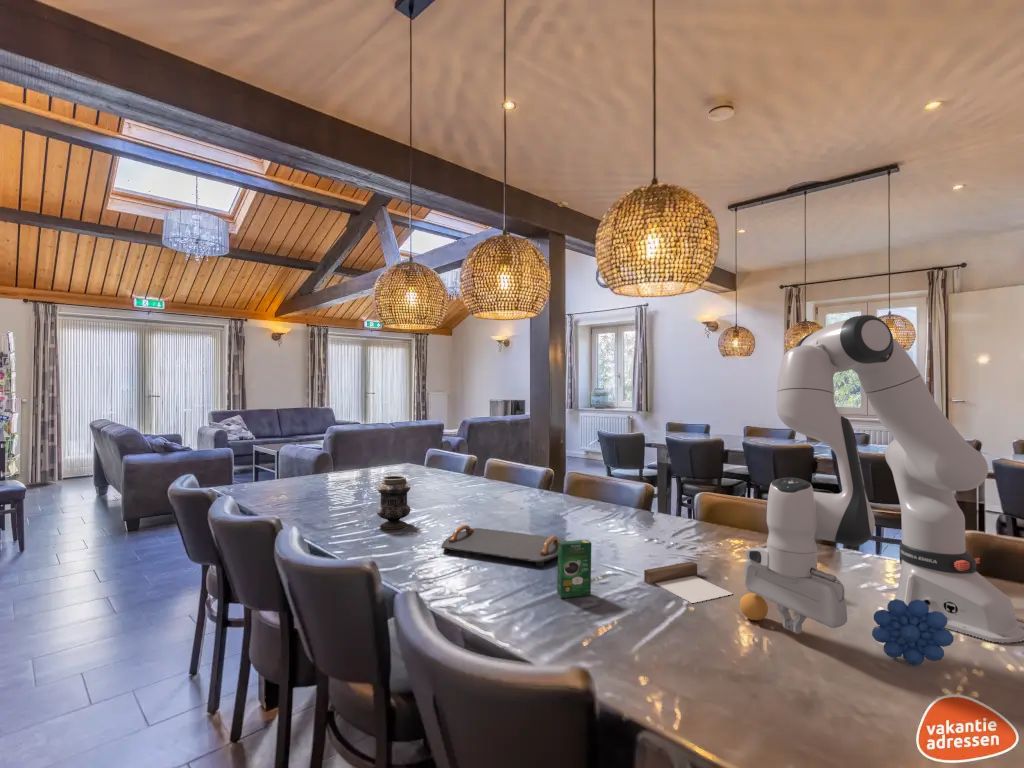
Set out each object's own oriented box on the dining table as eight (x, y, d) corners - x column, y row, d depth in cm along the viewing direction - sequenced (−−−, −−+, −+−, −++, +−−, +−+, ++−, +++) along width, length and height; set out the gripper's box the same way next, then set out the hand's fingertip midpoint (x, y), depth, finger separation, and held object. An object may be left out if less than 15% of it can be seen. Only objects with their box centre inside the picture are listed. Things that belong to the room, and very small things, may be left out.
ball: (773, 622, 107) (773, 596, 107) (755, 627, 105) (755, 601, 105) (752, 611, 112) (752, 587, 112) (734, 616, 110) (734, 591, 110)
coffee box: (587, 591, 124) (587, 538, 124) (592, 595, 121) (591, 541, 122) (556, 594, 122) (556, 540, 122) (560, 599, 119) (560, 544, 120)
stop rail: (697, 574, 135) (697, 563, 135) (649, 584, 128) (649, 572, 128) (691, 572, 137) (691, 561, 137) (644, 581, 130) (644, 570, 130)
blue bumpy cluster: (955, 666, 90) (954, 599, 90) (953, 683, 85) (952, 612, 85) (875, 644, 98) (874, 582, 98) (870, 658, 93) (869, 593, 93)
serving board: (431, 554, 154) (431, 534, 154) (468, 534, 175) (468, 516, 175) (550, 573, 138) (550, 550, 138) (574, 548, 159) (574, 529, 159)
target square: (733, 594, 122) (733, 593, 122) (692, 603, 117) (692, 603, 117) (694, 576, 134) (694, 575, 134) (655, 584, 128) (655, 583, 128)
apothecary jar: (417, 524, 186) (417, 476, 187) (393, 532, 176) (393, 481, 176) (393, 520, 193) (393, 473, 193) (369, 527, 183) (369, 478, 183)
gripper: (854, 576, 92) (855, 651, 92) (760, 544, 111) (760, 607, 111) (832, 581, 90) (832, 659, 89) (739, 548, 108) (739, 612, 108)
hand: (792, 630), depth 100 cm, fingers closed
